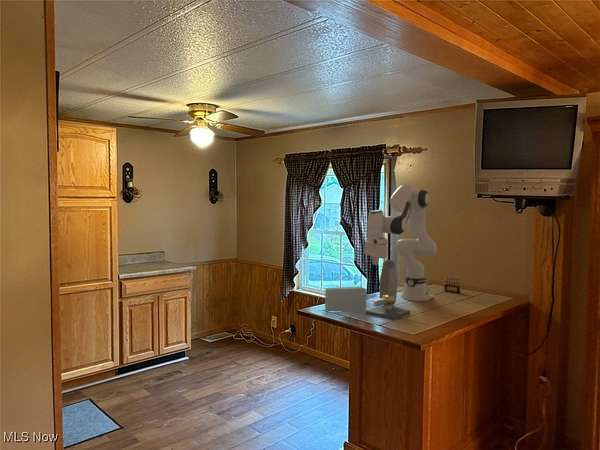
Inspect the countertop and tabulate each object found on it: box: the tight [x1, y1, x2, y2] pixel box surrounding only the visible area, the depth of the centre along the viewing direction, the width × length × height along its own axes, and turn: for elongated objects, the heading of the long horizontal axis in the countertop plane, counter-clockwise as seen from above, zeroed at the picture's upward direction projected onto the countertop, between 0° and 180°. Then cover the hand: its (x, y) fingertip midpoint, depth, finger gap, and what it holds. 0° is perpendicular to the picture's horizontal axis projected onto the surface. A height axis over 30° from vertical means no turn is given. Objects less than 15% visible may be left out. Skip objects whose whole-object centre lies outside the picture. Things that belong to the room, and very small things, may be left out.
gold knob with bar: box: [373, 295, 397, 308], centre depth 247 cm, size 18×9×4 cm, turn 139°
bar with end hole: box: [324, 285, 367, 313], centre depth 258 cm, size 23×6×13 cm, turn 103°
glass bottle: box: [379, 259, 398, 306], centre depth 270 cm, size 10×10×28 cm
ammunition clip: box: [443, 274, 461, 294], centre depth 312 cm, size 11×2×12 cm, turn 52°
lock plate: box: [365, 304, 411, 321], centre depth 251 cm, size 18×18×6 cm
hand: (374, 264), depth 247 cm, fingers closed
